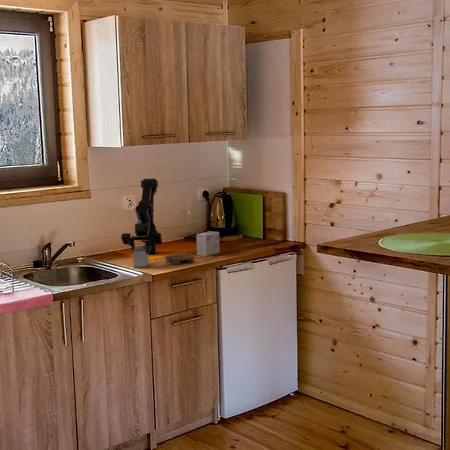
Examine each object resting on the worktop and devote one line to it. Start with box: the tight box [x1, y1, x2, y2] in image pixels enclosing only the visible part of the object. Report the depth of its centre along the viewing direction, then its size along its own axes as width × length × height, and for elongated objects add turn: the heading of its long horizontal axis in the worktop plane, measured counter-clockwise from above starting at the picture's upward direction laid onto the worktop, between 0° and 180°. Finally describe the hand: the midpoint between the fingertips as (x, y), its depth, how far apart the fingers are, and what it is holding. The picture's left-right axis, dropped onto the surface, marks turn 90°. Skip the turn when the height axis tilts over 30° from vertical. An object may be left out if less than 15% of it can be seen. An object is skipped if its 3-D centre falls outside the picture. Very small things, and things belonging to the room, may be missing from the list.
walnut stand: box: [164, 252, 195, 266], centre depth 332 cm, size 10×10×3 cm
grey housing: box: [132, 246, 150, 269], centre depth 324 cm, size 6×6×9 cm
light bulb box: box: [196, 230, 221, 257], centre depth 350 cm, size 11×7×11 cm, turn 141°
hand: (140, 253), depth 322 cm, fingers closed on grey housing, 6 cm apart
